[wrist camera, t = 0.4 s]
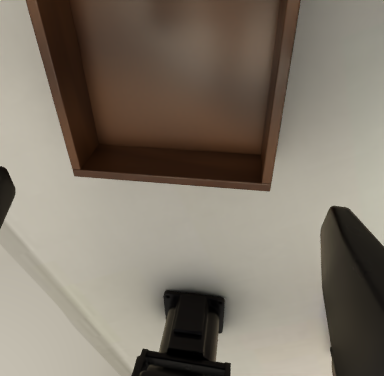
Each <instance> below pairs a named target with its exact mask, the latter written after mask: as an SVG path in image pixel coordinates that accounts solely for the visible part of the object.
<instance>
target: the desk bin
mask: <svg viewBox="0 0 384 376" xmlns="http://www.w3.org/2000/svg"><path fill="white" fill-rule="evenodd" d="M300 1H301V0H26V3H27V6H28V10H29V14H30V17H31V21H32V25H33V28H34V32H35V35H36V39H37V43H38V46H39V50H40V53H41V57H42V61H43V64H44V68H45V71H46V75H47V79H48V82H49V86H50V90H51V93H52V97H53V100H54V104H55V108H56V111H57V115H58V118H59V122H60V126H61V129H62V133H63V136H64V140H65V144H66V147H67V151H68V155H69V158H70V162H71V165H72V169H73V173H74V176H78V177H91V178H104V179H117V180H130V181H143V182H155V183H168V184H181V185H194V186H207V187H220V188H232V189H245V190H258V191H270V188H271V182H272V176H273V170H274V163H275V157H276V151H277V145H278V138H279V132H280V126H281V120H282V113H283V107H284V101H285V95H286V89H287V82H288V76H289V70H290V64H291V57H292V51H293V45H294V39H295V33H296V26H297V20H298V14H299V8H300Z"/></svg>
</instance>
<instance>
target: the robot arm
mask: <svg viewBox="0 0 384 376" xmlns="http://www.w3.org/2000/svg"><path fill="white" fill-rule="evenodd" d="M14 196H15V186H14V184H13V182H12V180H11V178H10V175H9V173H8V171H7V169H6V168H4V167H2V166H0V228H1V226H2V224H3V222H4V219H5V217H6V215H7V212H8V210H9V208H10V206H11V203H12V201H13V199H14ZM320 237H321V269H322V289H323V296H324V303H325V309H326V315H327V322H328V328H329V334H330V341H331V347H332V353H333V360H334V366H335V373H336V376H384V246H383V245H382V244H381V243H380V242H379V241H378V240H377V239H376V237H375V236H374V235H373V234H372V233H371V232H370V231H369V230H368V229H367V228H366V226H365V225H364V224H363V223H362V222H361V221H360V220H359V219H358V218H357V217H356V216H355V214H354V213H353V212H352V211H351V210H350V209H349V208H347V207H340V206H332V207H330V209H329V211H328V213H327V215H326V218H325V220H324V222H323V225H322V227H321V234H320ZM224 304H225V299H224V298H222V297H218V296H209V295H201V294H192V293H184V292H175V291H165V292H164V305H165V314H166V323H165V328H164V332H163V337H162V341H161V345H160V350H159V352H155V351H149V350H148V349H143V350H142V352H141V355H140V356H138V357H137V359H136V363H135V367H134V370H133V373H132V376H230V367H231V363H227V362H225V363H220V362H216V353H217V342H218V334H220V333H222V330H223V317H224Z"/></svg>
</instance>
